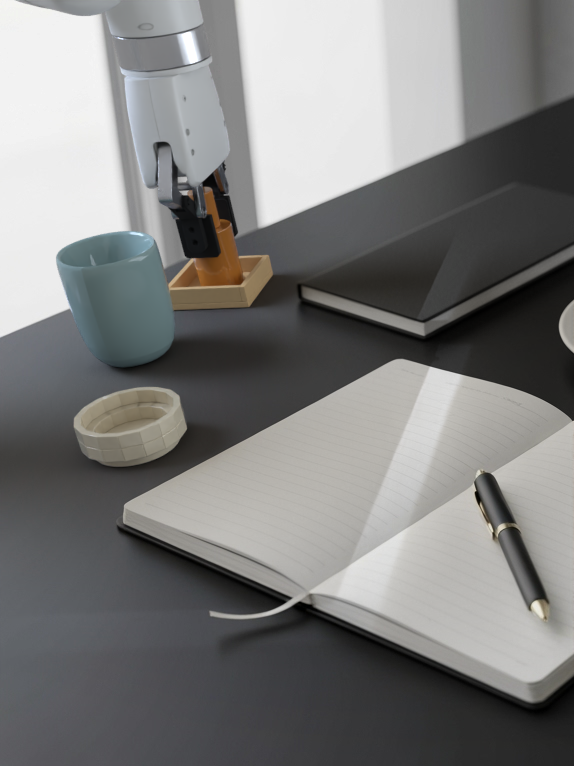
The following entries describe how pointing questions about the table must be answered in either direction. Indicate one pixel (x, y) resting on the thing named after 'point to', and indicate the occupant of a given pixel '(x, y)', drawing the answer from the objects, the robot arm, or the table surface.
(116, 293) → the cup
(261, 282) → the tray
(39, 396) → the table surface
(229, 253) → the bottle
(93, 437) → the bowl
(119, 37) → the robot arm
